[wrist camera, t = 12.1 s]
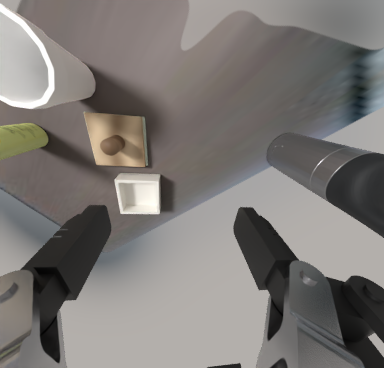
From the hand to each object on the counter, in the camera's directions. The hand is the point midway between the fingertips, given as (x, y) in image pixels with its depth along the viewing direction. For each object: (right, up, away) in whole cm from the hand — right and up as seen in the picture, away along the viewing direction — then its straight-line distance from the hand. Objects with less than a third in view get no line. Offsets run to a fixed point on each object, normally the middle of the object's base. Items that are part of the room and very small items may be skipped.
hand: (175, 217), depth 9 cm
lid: (-15, +12, +24) cm, 30 cm away
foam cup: (-21, +22, +18) cm, 35 cm away
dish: (-13, 0, +31) cm, 33 cm away
